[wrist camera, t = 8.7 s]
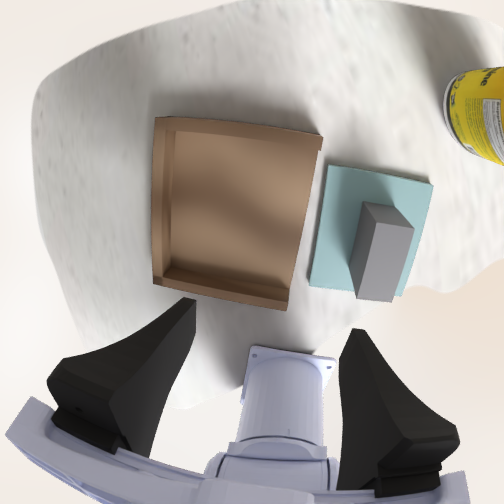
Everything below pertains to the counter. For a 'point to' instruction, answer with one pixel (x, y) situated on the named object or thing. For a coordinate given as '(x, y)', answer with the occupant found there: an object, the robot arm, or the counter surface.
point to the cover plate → (347, 215)
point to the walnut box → (229, 207)
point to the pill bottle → (477, 112)
